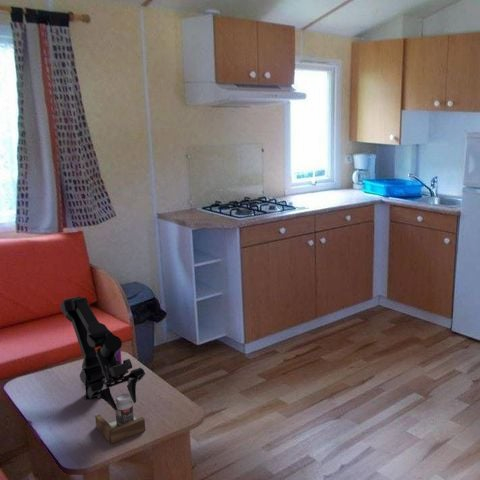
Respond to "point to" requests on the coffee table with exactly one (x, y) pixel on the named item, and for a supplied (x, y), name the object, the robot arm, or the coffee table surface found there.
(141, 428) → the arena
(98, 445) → the coffee table surface
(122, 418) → the pill bottle
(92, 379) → the robot arm
